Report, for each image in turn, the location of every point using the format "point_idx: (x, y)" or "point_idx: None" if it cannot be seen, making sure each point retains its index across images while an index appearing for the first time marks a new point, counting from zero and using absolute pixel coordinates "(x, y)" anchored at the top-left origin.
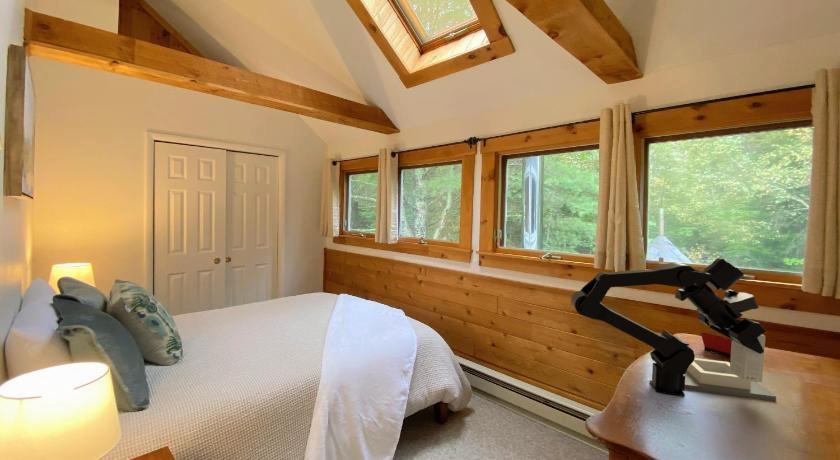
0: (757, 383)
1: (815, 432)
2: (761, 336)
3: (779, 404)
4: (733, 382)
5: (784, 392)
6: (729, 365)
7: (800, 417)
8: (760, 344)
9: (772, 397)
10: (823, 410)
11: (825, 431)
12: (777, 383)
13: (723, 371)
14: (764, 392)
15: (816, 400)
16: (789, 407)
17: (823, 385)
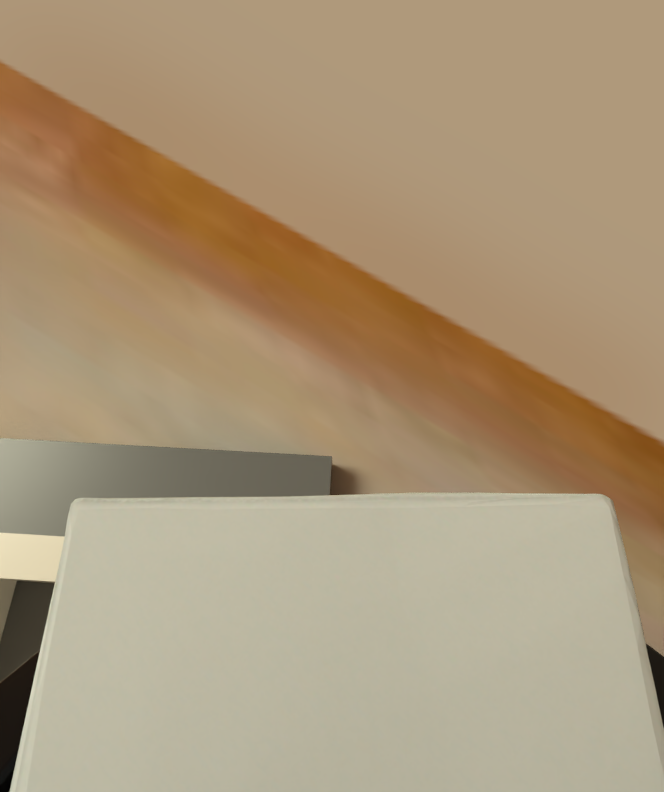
0: (160, 452)
1: (645, 488)
2: (628, 586)
3: (368, 468)
4: None
5: (204, 351)
6: (12, 567)
7: (496, 456)
8: (656, 653)
9: (330, 475)
10: (373, 303)
11: (610, 433)
12: (93, 317)
13: (8, 589)
14: (290, 491)
15: (267, 266)
16: (390, 438)
17: (93, 142)
